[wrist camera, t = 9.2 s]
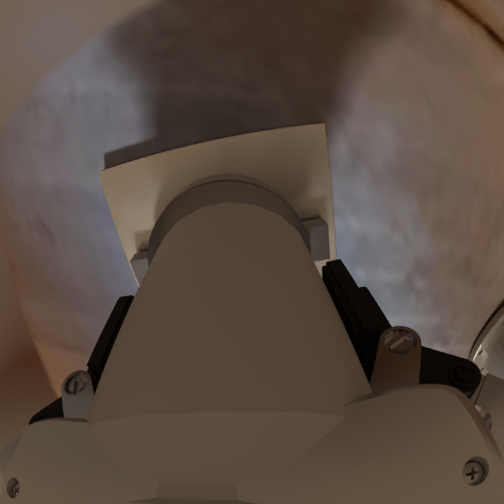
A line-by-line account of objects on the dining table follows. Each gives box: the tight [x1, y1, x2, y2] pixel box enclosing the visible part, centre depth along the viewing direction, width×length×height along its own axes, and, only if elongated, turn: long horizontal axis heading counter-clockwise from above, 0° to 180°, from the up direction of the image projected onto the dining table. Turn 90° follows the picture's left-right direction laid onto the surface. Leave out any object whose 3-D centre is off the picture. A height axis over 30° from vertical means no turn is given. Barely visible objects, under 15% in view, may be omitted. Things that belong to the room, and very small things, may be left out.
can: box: [86, 202, 373, 504], centre depth 9 cm, size 8×8×12 cm
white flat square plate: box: [99, 123, 336, 286], centre depth 16 cm, size 12×12×2 cm
